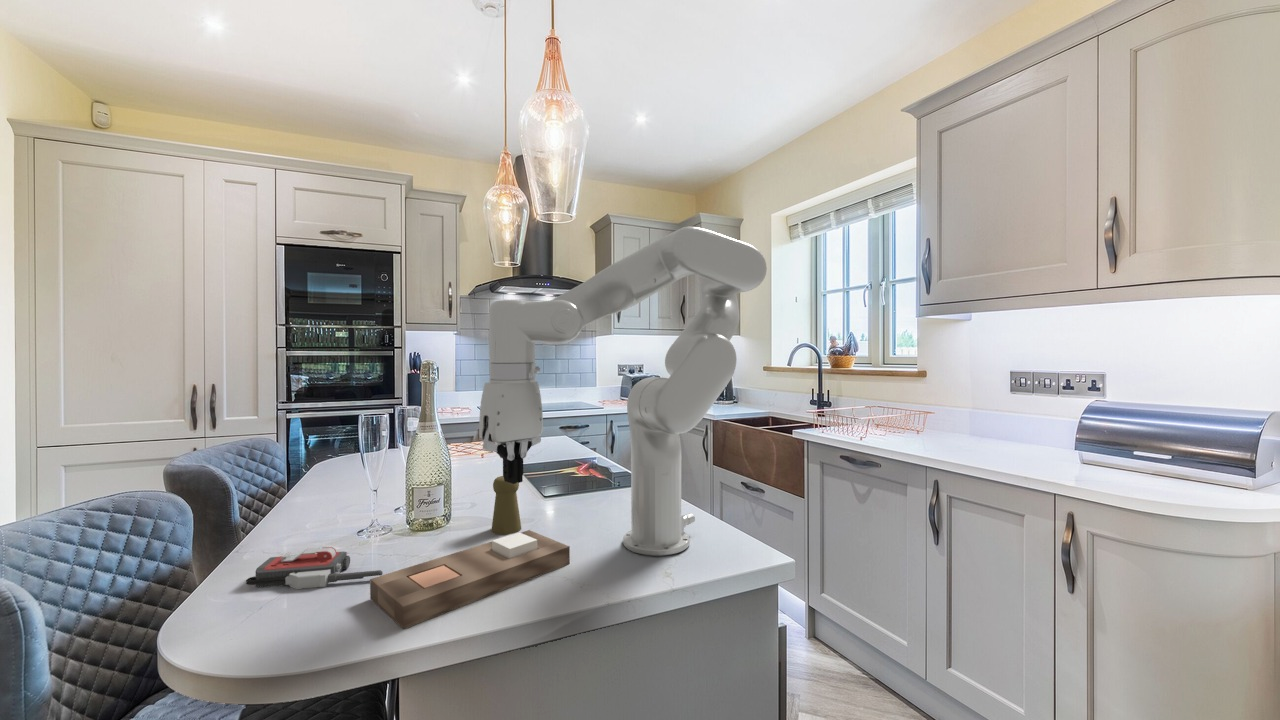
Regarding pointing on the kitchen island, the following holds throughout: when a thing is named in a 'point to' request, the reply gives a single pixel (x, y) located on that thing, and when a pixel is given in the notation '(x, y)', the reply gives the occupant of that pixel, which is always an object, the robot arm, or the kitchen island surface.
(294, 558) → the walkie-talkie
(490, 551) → the block
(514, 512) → the cork
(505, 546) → the off-white key
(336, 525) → the kitchen island surface
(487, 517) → the kitchen island surface
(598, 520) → the kitchen island surface
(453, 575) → the terracotta key
